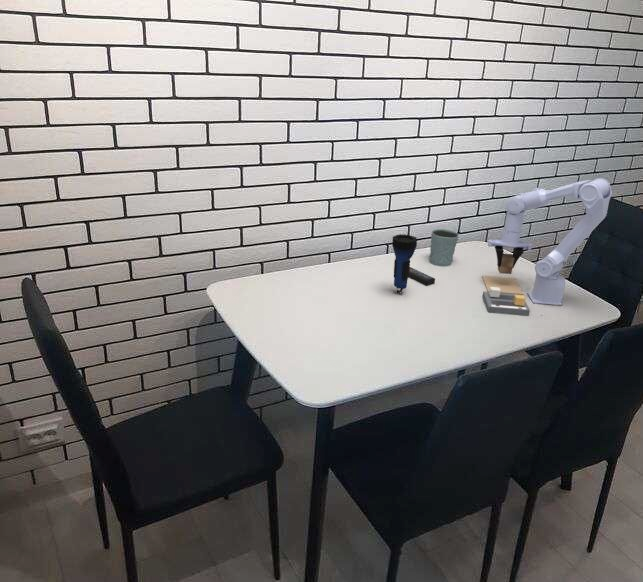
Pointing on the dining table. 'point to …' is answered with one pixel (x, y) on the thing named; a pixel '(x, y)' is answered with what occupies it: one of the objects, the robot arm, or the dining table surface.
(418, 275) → the multiport hub
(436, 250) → the green cup
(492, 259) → the dining table surface
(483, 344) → the dining table surface
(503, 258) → the block
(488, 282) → the mat
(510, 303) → the switch panel
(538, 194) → the robot arm
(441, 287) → the dining table surface
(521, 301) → the switch tab
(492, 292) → the switch tab
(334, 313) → the dining table surface
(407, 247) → the flashlight
